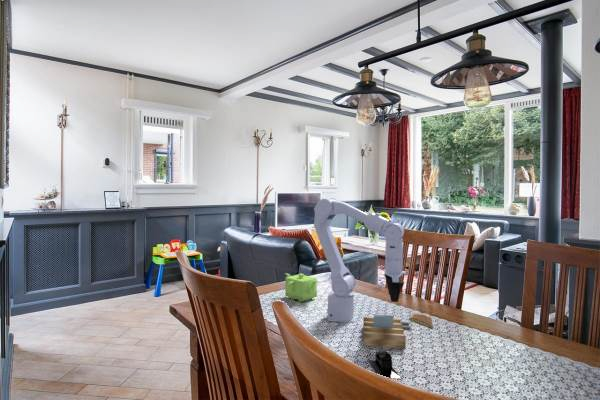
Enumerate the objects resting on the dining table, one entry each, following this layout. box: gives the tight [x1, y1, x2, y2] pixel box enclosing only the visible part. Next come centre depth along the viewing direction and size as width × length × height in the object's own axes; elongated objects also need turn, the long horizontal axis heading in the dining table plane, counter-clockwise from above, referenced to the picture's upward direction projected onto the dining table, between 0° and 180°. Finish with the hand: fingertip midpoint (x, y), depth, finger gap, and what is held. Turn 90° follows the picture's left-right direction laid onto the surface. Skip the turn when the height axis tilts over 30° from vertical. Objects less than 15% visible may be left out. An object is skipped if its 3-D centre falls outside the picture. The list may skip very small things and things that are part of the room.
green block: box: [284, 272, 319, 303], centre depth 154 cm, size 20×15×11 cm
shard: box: [409, 313, 434, 329], centre depth 126 cm, size 11×8×2 cm
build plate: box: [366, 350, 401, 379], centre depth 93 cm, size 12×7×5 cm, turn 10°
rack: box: [362, 316, 407, 349], centre depth 113 cm, size 12×14×4 cm
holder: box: [400, 321, 412, 331], centre depth 122 cm, size 7×5×1 cm
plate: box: [372, 314, 394, 328], centre depth 113 cm, size 6×2×6 cm, turn 81°
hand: (393, 298), depth 122 cm, fingers open, 7 cm apart
